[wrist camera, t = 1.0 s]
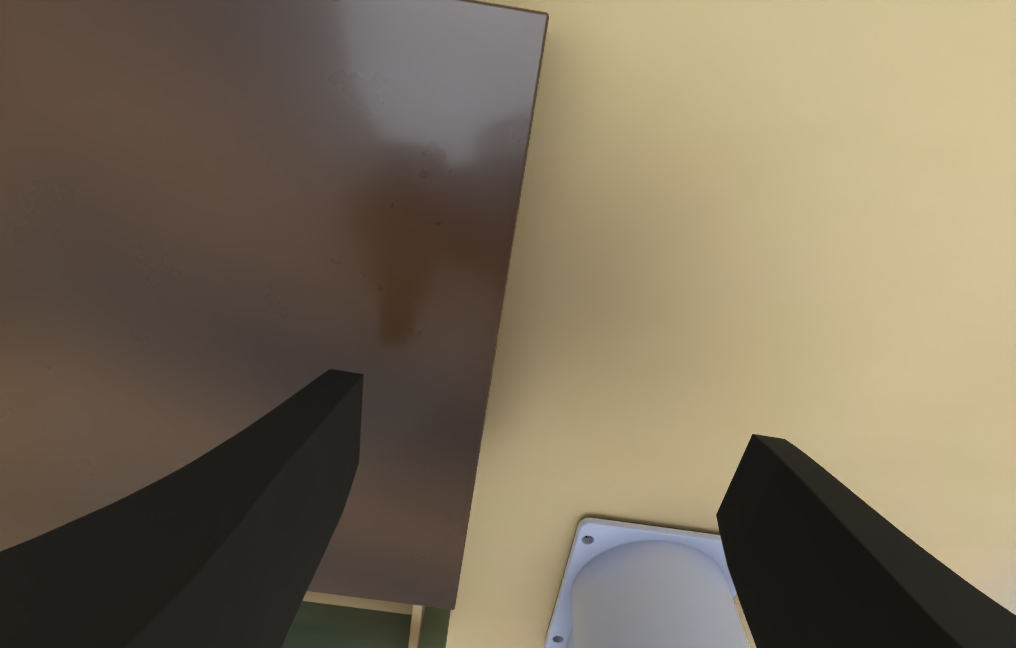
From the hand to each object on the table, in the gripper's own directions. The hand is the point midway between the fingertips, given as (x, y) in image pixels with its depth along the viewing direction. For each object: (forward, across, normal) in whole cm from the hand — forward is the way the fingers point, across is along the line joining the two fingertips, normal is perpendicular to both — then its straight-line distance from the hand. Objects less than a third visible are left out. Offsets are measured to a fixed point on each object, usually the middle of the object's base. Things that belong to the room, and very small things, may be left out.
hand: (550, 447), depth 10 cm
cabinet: (+10, +8, 0) cm, 13 cm away
